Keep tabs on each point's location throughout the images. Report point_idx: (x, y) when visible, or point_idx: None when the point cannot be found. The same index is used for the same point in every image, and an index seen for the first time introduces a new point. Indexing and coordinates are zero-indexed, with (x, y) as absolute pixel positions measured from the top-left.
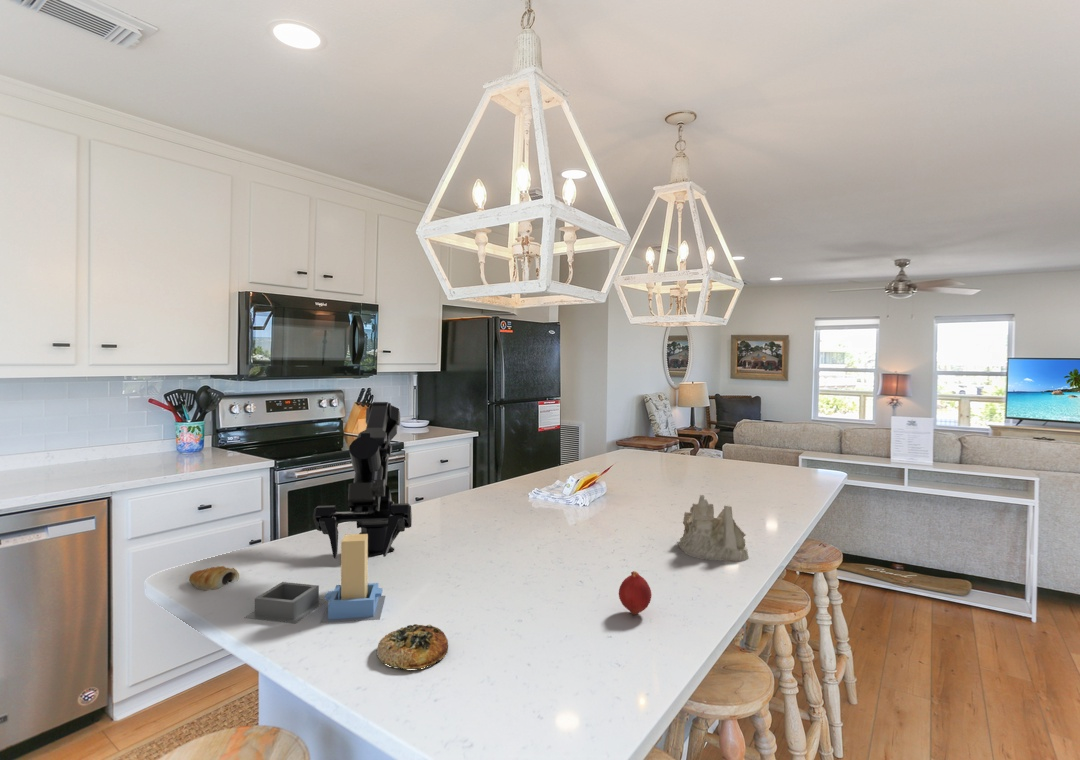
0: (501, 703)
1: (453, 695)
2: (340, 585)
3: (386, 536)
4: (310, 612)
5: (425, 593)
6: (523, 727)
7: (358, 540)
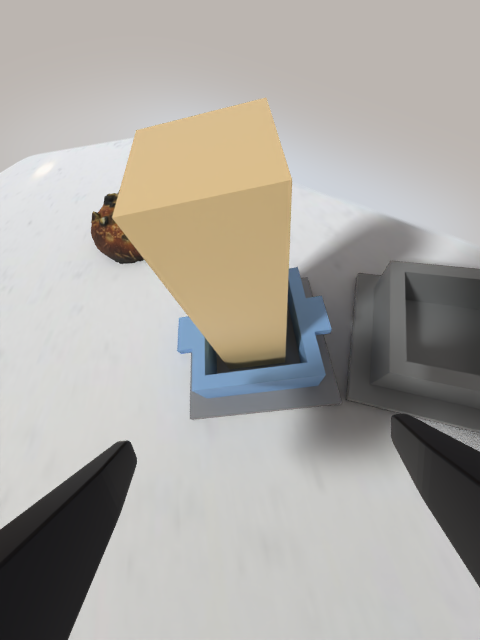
0: (80, 176)
1: (114, 178)
2: (309, 370)
3: (14, 541)
4: (354, 319)
5: (91, 453)
6: (75, 160)
7: (169, 126)
